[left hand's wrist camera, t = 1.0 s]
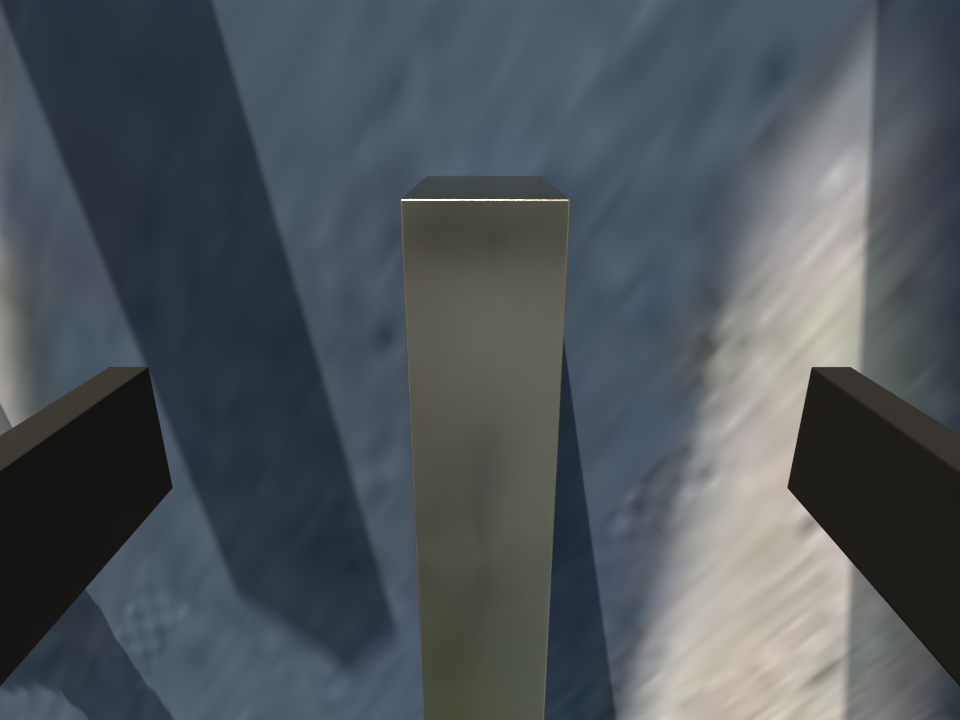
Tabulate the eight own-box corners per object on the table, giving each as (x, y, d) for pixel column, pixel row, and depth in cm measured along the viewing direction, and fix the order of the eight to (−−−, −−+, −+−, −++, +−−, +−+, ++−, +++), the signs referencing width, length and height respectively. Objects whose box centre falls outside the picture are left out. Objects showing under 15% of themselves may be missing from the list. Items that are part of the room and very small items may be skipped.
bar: (426, 176, 25) (399, 199, 17) (541, 176, 25) (570, 199, 17) (440, 629, 33) (426, 793, 25) (526, 629, 33) (540, 793, 25)
